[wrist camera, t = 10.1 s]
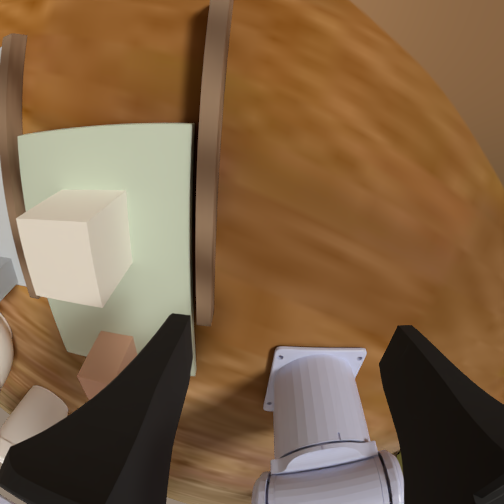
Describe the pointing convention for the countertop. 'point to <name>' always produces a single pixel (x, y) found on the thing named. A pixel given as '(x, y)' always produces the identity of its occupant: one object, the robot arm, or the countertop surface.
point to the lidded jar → (5, 350)
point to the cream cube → (77, 245)
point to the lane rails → (208, 156)
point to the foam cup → (31, 417)
